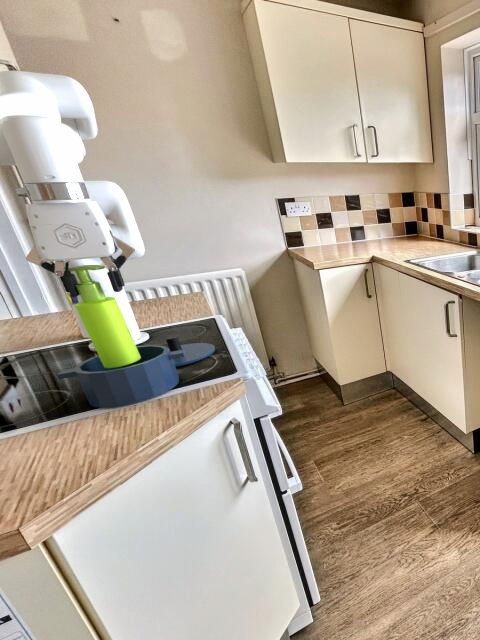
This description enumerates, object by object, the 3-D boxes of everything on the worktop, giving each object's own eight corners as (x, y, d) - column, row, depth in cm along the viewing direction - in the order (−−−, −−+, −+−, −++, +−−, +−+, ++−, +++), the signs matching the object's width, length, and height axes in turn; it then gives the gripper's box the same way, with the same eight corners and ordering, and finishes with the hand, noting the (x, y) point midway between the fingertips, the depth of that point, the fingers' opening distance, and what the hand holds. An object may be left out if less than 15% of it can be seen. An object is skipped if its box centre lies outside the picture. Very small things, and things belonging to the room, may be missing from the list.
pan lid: (146, 355, 108) (138, 334, 106) (218, 343, 115) (212, 323, 113) (131, 377, 95) (122, 354, 93) (213, 362, 102) (206, 340, 100)
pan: (85, 388, 91) (71, 356, 88) (197, 367, 100) (188, 338, 97) (59, 419, 79) (42, 383, 76) (189, 392, 88) (177, 359, 85)
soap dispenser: (129, 367, 84) (84, 268, 76) (95, 368, 84) (48, 270, 77) (152, 355, 89) (113, 261, 82) (121, 356, 90) (79, 263, 82)
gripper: (-22, 196, 68) (28, 304, 75) (115, 192, 76) (149, 290, 82) (2, 196, 74) (45, 295, 81) (126, 192, 82) (157, 283, 88)
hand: (98, 292), depth 81 cm, fingers closed on soap dispenser, 5 cm apart
